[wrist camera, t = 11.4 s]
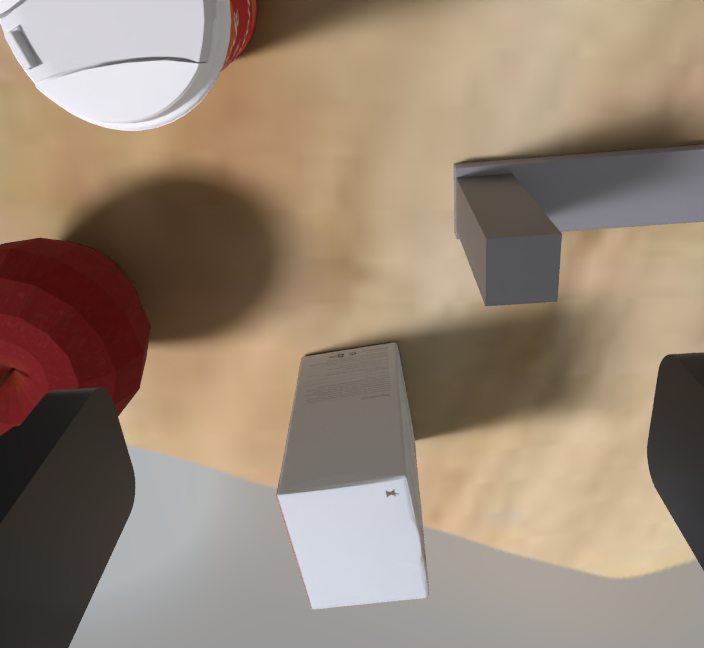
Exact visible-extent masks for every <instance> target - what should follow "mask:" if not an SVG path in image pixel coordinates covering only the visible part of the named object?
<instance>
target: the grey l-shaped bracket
mask: <svg viewBox="0 0 704 648" xmlns="http://www.w3.org/2000/svg"><path fill="white" fill-rule="evenodd" d="M690 222H704V144H702V145H689V146H676V147H663V148H650V149H638V150H625V151H612V152H599V153H586V154H573V155H560V156H547V157H534V158H522V159H509V160H496V161H483V162H470V163H457V164H454V233H455V236H456V238H457V239H460V241H461V243H462V246H463V248H464V251H465V254H466V256H467V259H468V261H469V264H470V267H471V269H472V272H473V275H474V277H475V280H476V282H477V285H478V288H479V290H480V293H481V296H482V298H483V301H484V303H485V306H496V305H511V304H527V303H542V302H557V299H558V284H559V269H560V253H561V238H562V233H561V232H563V231H577V230H591V229H606V228H620V227H634V226H648V225H662V224H676V223H690Z"/></svg>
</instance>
